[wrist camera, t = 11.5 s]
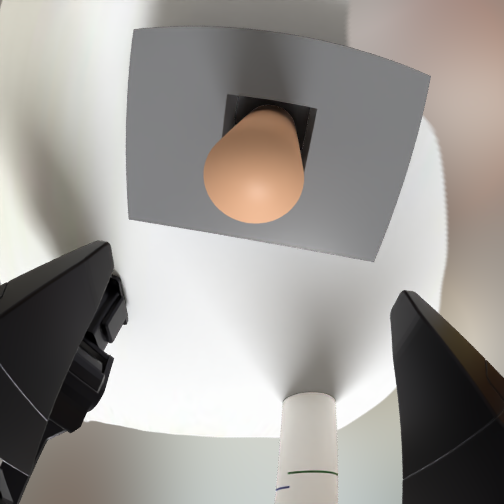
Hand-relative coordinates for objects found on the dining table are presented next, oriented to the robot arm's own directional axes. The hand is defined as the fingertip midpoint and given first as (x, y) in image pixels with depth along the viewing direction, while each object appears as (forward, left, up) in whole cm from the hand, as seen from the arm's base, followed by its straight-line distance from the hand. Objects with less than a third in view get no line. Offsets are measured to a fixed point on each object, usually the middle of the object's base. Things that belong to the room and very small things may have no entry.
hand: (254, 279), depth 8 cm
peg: (-1, +2, -13) cm, 13 cm away
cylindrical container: (+10, -30, -13) cm, 34 cm away
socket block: (-1, +2, -13) cm, 13 cm away
